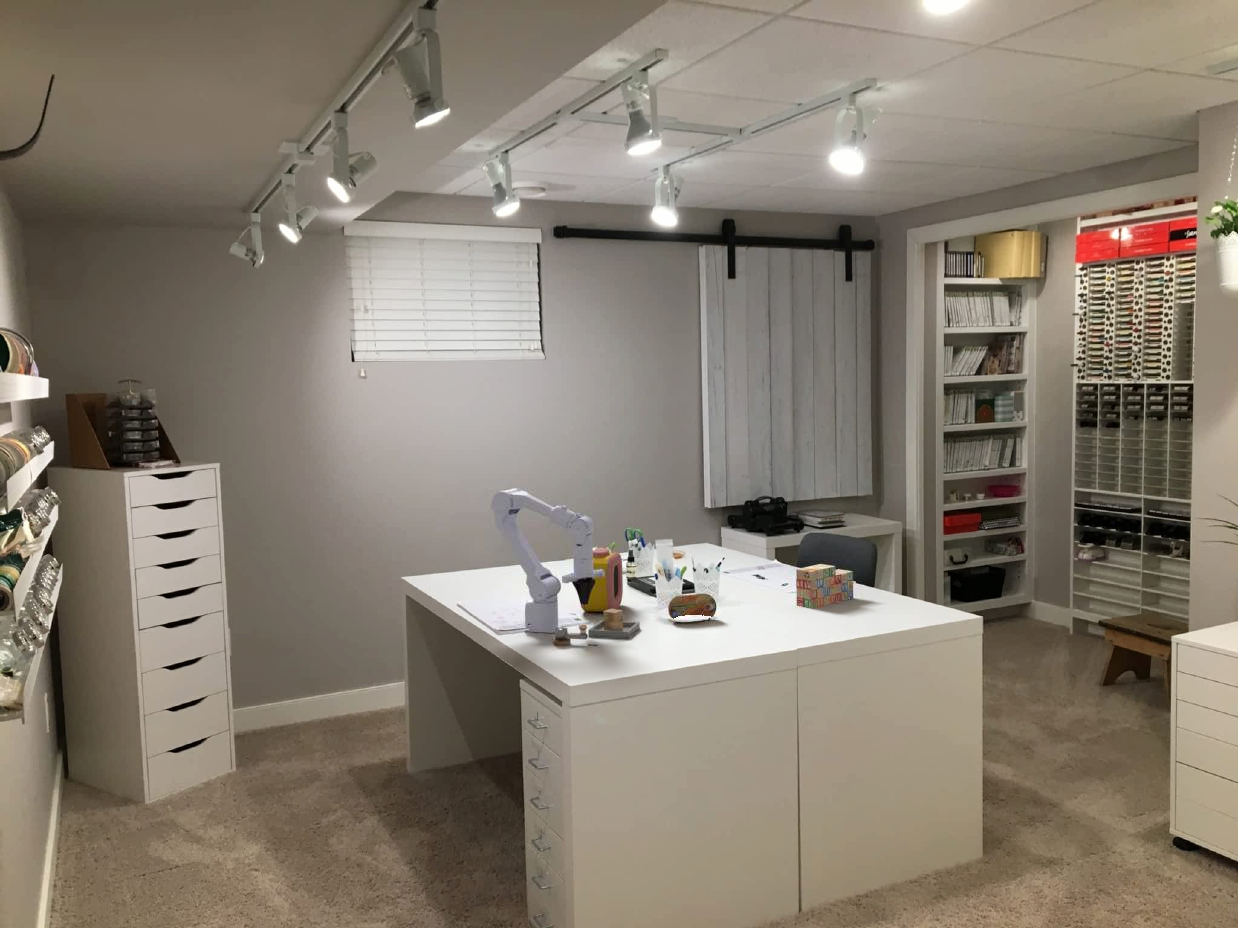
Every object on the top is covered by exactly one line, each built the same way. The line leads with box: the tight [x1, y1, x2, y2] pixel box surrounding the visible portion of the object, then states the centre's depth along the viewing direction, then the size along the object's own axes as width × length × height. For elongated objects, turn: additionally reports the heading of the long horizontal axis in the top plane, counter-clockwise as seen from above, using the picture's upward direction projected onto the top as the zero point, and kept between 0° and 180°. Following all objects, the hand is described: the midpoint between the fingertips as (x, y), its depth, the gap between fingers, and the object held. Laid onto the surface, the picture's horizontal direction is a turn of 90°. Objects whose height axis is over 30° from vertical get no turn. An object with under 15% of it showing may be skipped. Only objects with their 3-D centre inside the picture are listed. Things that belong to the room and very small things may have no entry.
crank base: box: [552, 637, 598, 647], centre depth 283 cm, size 13×5×1 cm, turn 73°
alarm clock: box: [580, 547, 624, 613], centre depth 325 cm, size 18×11×19 cm, turn 168°
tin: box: [667, 593, 717, 620], centre depth 308 cm, size 15×3×8 cm, turn 106°
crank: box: [554, 624, 588, 640], centre depth 283 cm, size 9×4×4 cm, turn 74°
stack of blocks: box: [795, 563, 854, 609], centre depth 330 cm, size 21×6×12 cm, turn 129°
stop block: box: [603, 608, 624, 631], centre depth 295 cm, size 4×4×6 cm
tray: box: [587, 619, 641, 640], centre depth 295 cm, size 12×12×2 cm
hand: (584, 603), depth 295 cm, fingers closed
